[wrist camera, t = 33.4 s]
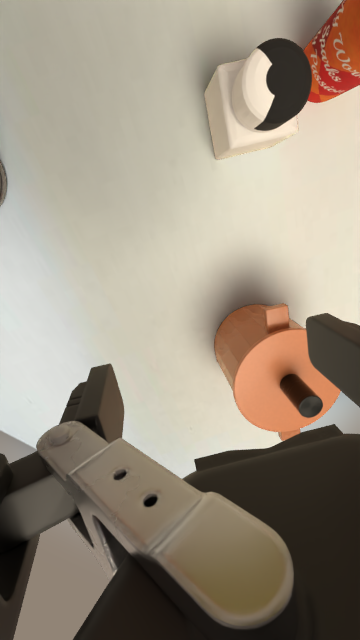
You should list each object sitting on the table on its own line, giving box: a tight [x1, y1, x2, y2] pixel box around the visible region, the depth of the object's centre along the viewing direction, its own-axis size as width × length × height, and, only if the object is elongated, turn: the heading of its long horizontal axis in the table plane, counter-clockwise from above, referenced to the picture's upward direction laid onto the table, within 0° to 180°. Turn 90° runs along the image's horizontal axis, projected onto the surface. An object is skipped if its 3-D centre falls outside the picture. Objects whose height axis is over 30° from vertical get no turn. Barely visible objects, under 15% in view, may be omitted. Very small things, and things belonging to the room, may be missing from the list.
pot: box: [214, 303, 303, 441], centre depth 41 cm, size 11×17×12 cm
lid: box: [233, 328, 341, 432], centre depth 33 cm, size 12×12×6 cm
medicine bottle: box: [204, 38, 312, 160], centre depth 32 cm, size 7×7×12 cm
